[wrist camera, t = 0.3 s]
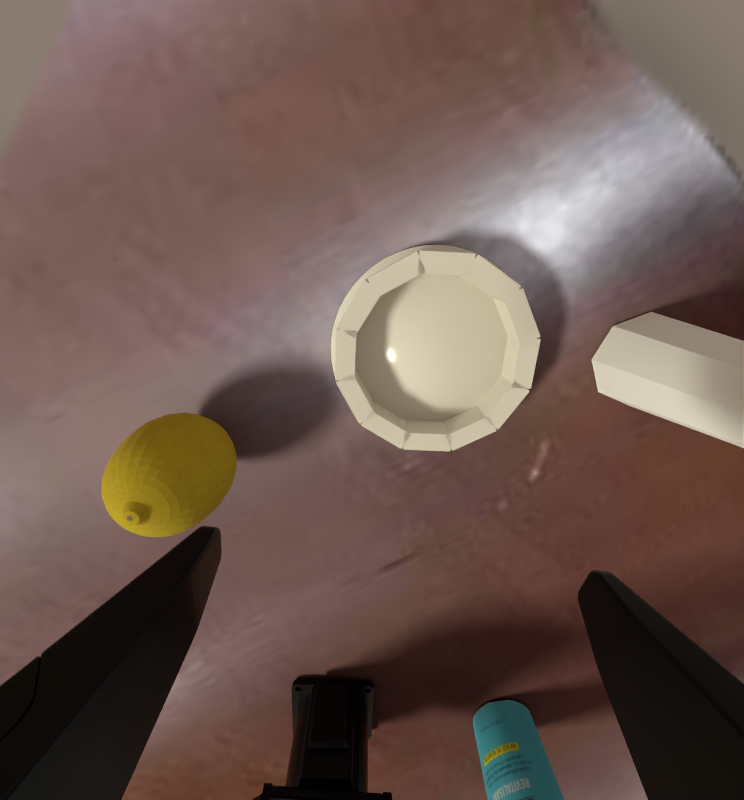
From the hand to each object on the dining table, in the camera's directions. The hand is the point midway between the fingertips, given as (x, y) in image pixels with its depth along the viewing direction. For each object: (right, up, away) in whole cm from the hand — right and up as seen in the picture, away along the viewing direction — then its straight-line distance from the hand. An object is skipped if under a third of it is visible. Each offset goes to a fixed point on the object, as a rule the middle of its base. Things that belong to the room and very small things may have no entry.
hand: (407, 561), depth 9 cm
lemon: (-11, +2, +14) cm, 18 cm away
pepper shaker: (+14, +6, +13) cm, 20 cm away
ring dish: (+2, +7, +12) cm, 14 cm away
